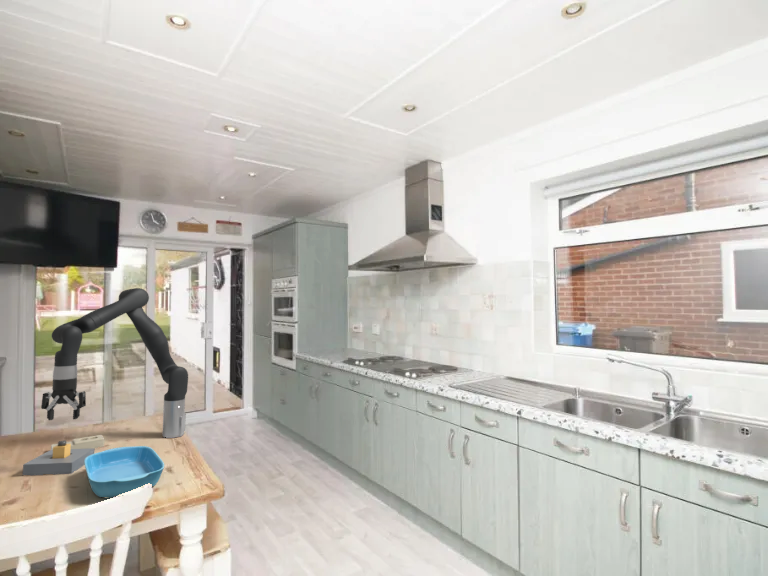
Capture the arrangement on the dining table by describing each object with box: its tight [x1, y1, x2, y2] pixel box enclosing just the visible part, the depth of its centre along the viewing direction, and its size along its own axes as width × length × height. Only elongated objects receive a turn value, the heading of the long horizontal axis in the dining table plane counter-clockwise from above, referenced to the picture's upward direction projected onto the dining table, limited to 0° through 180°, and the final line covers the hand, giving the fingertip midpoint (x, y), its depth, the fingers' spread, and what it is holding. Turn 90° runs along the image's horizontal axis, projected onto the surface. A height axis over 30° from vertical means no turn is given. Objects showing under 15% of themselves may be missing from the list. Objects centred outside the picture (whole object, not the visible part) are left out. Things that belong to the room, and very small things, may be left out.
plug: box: [52, 440, 71, 459], centre depth 160 cm, size 4×4×8 cm
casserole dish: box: [84, 445, 165, 499], centre depth 148 cm, size 37×22×7 cm, turn 40°
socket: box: [22, 448, 96, 476], centre depth 160 cm, size 16×16×4 cm
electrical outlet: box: [50, 434, 105, 450], centre depth 180 cm, size 7×4×18 cm
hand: (63, 419), depth 161 cm, fingers open, 8 cm apart
